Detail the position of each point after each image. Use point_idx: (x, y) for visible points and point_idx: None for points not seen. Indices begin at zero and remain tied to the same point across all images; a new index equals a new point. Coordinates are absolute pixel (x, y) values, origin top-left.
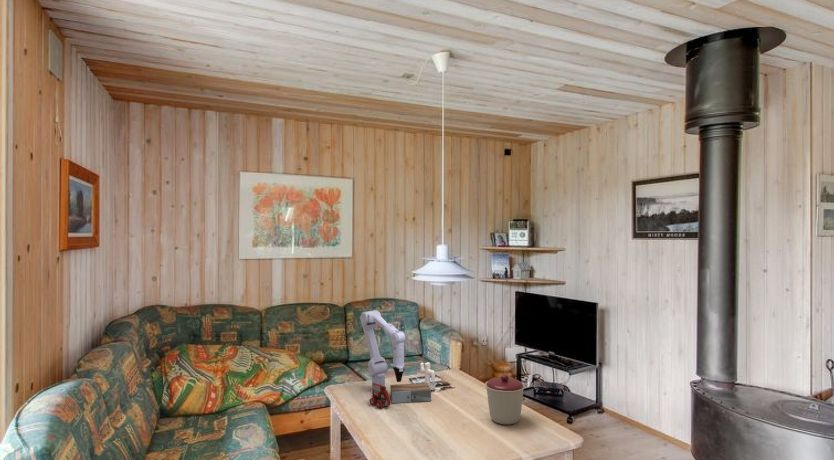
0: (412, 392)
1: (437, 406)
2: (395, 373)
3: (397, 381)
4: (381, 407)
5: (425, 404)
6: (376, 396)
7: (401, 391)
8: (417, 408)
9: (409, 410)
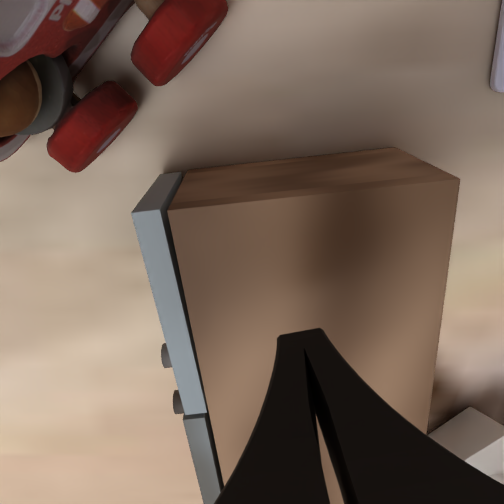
0: (185, 415)
1: (127, 481)
2: (259, 467)
3: (278, 346)
4: None
5: (160, 422)
6: None
7: (174, 326)
8: (71, 376)
9: (16, 324)
